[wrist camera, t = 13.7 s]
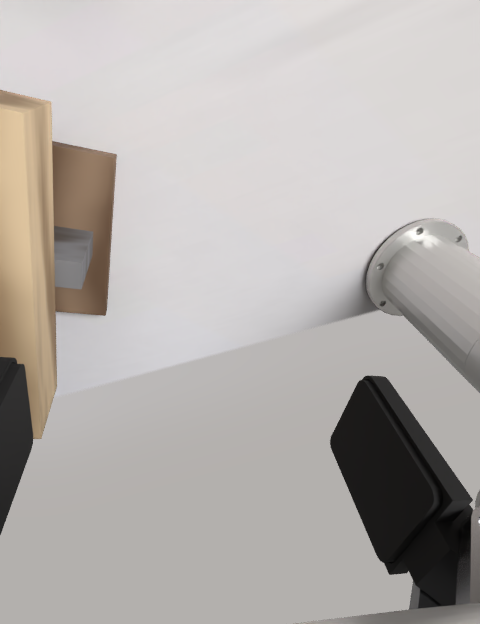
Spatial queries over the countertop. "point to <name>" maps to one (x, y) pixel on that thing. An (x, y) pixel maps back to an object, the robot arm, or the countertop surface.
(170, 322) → the countertop surface
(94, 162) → the walnut stand
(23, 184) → the oak beam
